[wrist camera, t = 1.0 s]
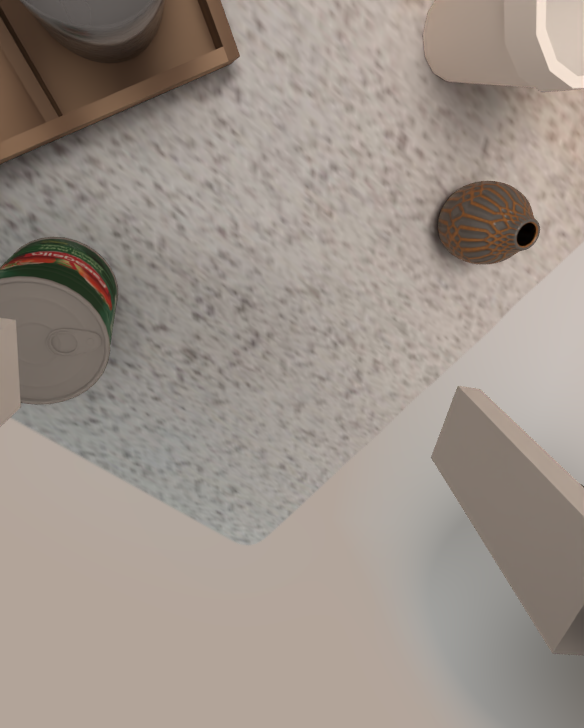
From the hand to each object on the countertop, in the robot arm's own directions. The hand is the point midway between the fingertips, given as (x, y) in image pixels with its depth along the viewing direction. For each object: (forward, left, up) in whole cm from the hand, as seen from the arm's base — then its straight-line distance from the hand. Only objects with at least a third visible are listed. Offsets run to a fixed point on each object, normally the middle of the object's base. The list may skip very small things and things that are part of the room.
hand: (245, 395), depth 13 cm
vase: (+20, +16, -26) cm, 36 cm away
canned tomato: (-5, -9, -25) cm, 27 cm away
